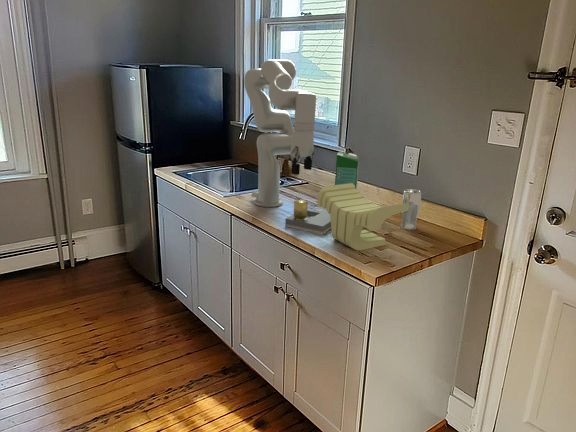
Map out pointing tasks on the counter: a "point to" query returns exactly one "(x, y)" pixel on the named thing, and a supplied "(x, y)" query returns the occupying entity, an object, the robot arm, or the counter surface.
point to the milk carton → (346, 169)
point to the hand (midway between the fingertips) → (301, 171)
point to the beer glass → (411, 208)
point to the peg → (300, 209)
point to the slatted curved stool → (355, 215)
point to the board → (311, 222)
